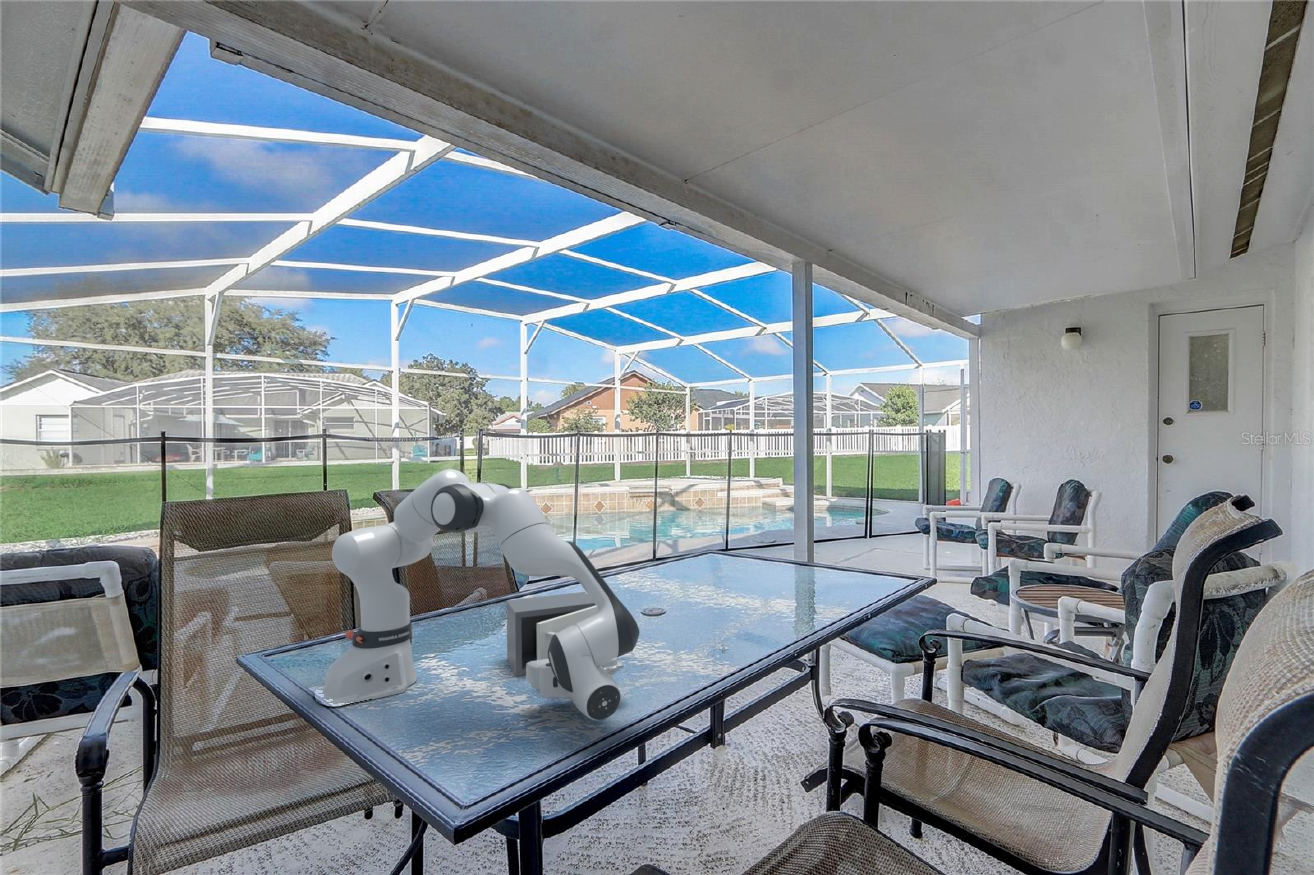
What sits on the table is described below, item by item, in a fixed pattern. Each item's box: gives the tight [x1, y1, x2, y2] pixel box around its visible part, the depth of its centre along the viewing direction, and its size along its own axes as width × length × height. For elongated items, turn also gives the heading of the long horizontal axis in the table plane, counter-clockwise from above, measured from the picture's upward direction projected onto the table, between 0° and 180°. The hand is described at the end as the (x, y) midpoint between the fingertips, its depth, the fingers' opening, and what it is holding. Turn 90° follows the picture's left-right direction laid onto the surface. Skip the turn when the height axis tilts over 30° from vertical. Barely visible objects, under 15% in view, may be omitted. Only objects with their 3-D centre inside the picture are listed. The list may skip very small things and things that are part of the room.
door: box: [537, 606, 599, 660], centre depth 146 cm, size 22×7×15 cm, turn 142°
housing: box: [506, 591, 596, 677], centre depth 159 cm, size 22×14×16 cm, turn 113°
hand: (564, 656), depth 139 cm, fingers open, 3 cm apart
